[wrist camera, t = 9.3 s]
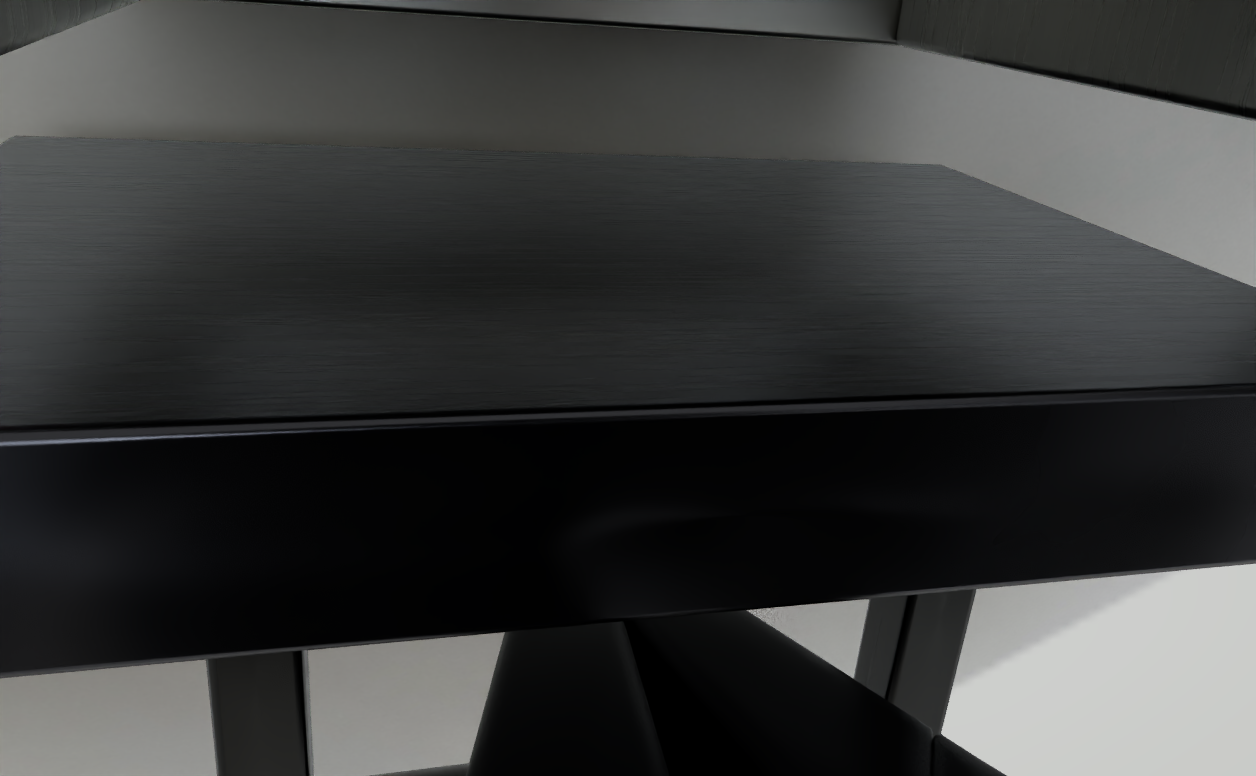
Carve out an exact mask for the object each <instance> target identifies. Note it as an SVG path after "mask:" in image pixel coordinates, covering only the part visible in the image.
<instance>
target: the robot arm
mask: <svg viewBox="0 0 1256 776" xmlns="http://www.w3.org/2000/svg"><path fill="white" fill-rule="evenodd" d="M466 776H1006V775H1005V774H1003V773H1001V772H1000V771H998V770H997V769H995V768H993V767H992V766H990V765H988V764H987V763H985V762H983V761H981V760H980V759H978V758H977V757H976V756H974V755H972V754H971V753H969V752H968V751H966V750H964V749H963V748H961V747H960V746H958V745H957V744H955V743H954V742H952V741H951V740H949V739H947V738H946V737H944V736H943V735H940V734H937V735H935V736H934V737H933V732H932V730H931V728H930V727H928V726H926V725H925V724H923V723H922V722H920V721H919V720H917V719H916V718H914V717H912V716H911V715H909V714H908V713H906V712H905V711H903V710H901V709H900V708H898V707H897V706H895V705H894V704H892V703H890V702H889V701H887V700H886V699H884V698H883V697H881V696H880V695H878V694H876V693H875V692H873V691H872V690H870V689H869V688H867V687H865V686H864V685H862V684H861V683H859V682H858V681H856V680H855V679H853V678H851V677H850V676H848V675H847V674H845V673H844V672H842V671H840V670H839V669H837V668H836V667H834V666H833V665H831V664H829V663H828V662H826V661H825V660H823V659H822V658H820V657H819V656H817V655H815V654H814V653H812V652H811V651H809V650H808V649H806V648H804V647H803V646H801V645H800V644H798V643H797V642H795V641H793V640H792V639H790V638H789V637H787V636H786V635H784V634H783V633H781V632H779V631H778V630H776V629H775V628H773V627H772V626H770V625H768V624H767V623H765V622H764V621H762V620H761V619H759V618H757V617H756V616H754V615H753V614H751V613H750V612H748V611H747V610H741V611H730V612H719V613H708V614H697V615H686V616H675V617H664V618H653V619H642V620H632V621H621V622H610V623H599V624H588V625H577V626H566V627H555V628H544V629H533V630H522V631H511V632H505V634H504V637H503V641H502V645H501V648H500V652H499V656H498V659H497V663H496V667H495V670H494V674H493V678H492V681H491V685H490V689H489V692H488V696H487V700H486V703H485V707H484V711H483V714H482V718H481V722H480V725H479V729H478V733H477V736H476V740H475V744H474V747H473V751H472V755H471V758H470V762H469V766H468V769H467V773H466Z"/></svg>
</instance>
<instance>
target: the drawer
mask: <svg viewBox="0 0 1256 776" xmlns="http://www.w3.org/2000/svg"><path fill="white" fill-rule="evenodd" d="M137 1H140V0H0V56H1V55H3V54H6V53H8V52H11V51H13V50H16V49H18V48H21V47H23V46H26V45H28V44H31V43H34V42H36V41H39V40H41V39H44V38H46V37H49V36H51V35H54V34H56V33H59V32H61V31H64V30H66V29H69V28H72V27H74V26H77V25H79V24H82V23H84V22H87V21H89V20H92V19H94V18H97V17H99V16H102V15H104V14H107V13H110V12H112V11H115V10H117V9H120V8H122V7H125V6H127V5H130V4H132V3H135V2H137ZM204 1H219V2H235V3H250V4H266V5H281V6H296V7H312V8H327V9H343V10H358V11H373V12H389V13H404V14H420V15H435V16H450V17H466V18H481V19H497V20H512V21H527V22H543V23H558V24H574V25H589V26H605V27H620V28H635V29H651V30H666V31H682V32H697V33H712V34H728V35H743V36H759V37H774V38H789V39H805V40H820V41H836V42H851V43H866V44H882V45H897V46H903V47H906V48H911V49H916V50H920V51H925V52H930V53H935V54H939V55H944V56H949V57H953V58H958V59H963V60H968V61H972V62H977V63H982V64H987V65H991V66H996V67H1001V68H1006V69H1010V70H1015V71H1020V72H1024V73H1029V74H1034V75H1039V76H1043V77H1048V78H1053V79H1058V80H1062V81H1067V82H1072V83H1077V84H1081V85H1086V86H1091V87H1095V88H1100V89H1105V90H1110V91H1114V92H1119V93H1124V94H1129V95H1133V96H1138V97H1143V98H1148V99H1152V100H1157V101H1162V102H1166V103H1171V104H1176V105H1181V106H1185V107H1190V108H1195V109H1200V110H1204V111H1209V112H1214V113H1219V114H1223V115H1228V116H1233V117H1237V118H1242V119H1247V120H1252V121H1256V0H204ZM1254 563H1256V288H1255V287H1253V286H1250V285H1247V284H1245V283H1242V282H1240V281H1237V280H1235V279H1232V278H1230V277H1227V276H1224V275H1222V274H1219V273H1217V272H1214V271H1212V270H1209V269H1207V268H1204V267H1201V266H1199V265H1196V264H1194V263H1191V262H1189V261H1186V260H1184V259H1181V258H1178V257H1176V256H1173V255H1171V254H1168V253H1166V252H1163V251H1160V250H1158V249H1155V248H1153V247H1150V246H1148V245H1145V244H1143V243H1140V242H1137V241H1135V240H1132V239H1130V238H1127V237H1125V236H1122V235H1120V234H1117V233H1114V232H1112V231H1109V230H1107V229H1104V228H1102V227H1099V226H1097V225H1094V224H1091V223H1089V222H1086V221H1084V220H1081V219H1079V218H1076V217H1074V216H1071V215H1068V214H1066V213H1063V212H1061V211H1058V210H1056V209H1053V208H1050V207H1048V206H1045V205H1043V204H1040V203H1038V202H1035V201H1033V200H1030V199H1027V198H1025V197H1022V196H1020V195H1017V194H1015V193H1012V192H1010V191H1007V190H1004V189H1002V188H999V187H997V186H994V185H992V184H989V183H987V182H984V181H981V180H979V179H976V178H974V177H971V176H969V175H966V174H963V173H961V172H958V171H956V170H953V169H951V168H948V167H946V166H943V165H932V164H900V163H868V162H836V161H804V160H772V159H741V158H709V157H677V156H645V155H613V154H581V153H550V152H518V151H486V150H454V149H422V148H390V147H359V146H327V145H295V144H263V143H231V142H200V141H168V140H136V139H104V138H72V137H40V136H14V137H11V138H9V139H8V140H6V141H5V142H3V143H2V144H0V678H8V677H19V676H30V675H41V674H52V673H63V672H74V671H85V670H96V669H107V668H118V667H129V666H139V665H150V664H161V663H172V662H183V661H194V660H205V659H206V665H207V675H208V686H209V696H210V707H211V717H212V727H213V738H214V748H215V759H216V769H217V776H314V767H313V747H312V727H311V707H310V687H309V666H308V650H314V649H325V648H336V647H347V646H358V645H369V644H380V643H391V642H402V641H413V640H424V639H435V638H446V637H457V636H467V635H478V634H489V633H500V632H511V631H522V630H533V629H544V628H555V627H566V626H577V625H588V624H599V623H610V622H621V621H632V620H642V619H653V618H664V617H675V616H686V615H697V614H708V613H719V612H730V611H741V610H752V609H763V608H774V607H785V606H796V605H806V604H817V603H828V602H839V601H850V600H861V599H869V604H868V609H867V614H866V619H865V624H864V629H863V634H862V639H861V644H860V649H859V654H858V659H857V664H856V669H855V674H854V679H855V680H856V681H858V682H859V683H861V684H862V685H864V686H865V687H867V688H869V689H870V690H872V691H873V692H875V693H876V694H878V695H880V696H881V697H883V698H884V699H886V700H887V701H889V702H890V703H892V704H894V705H895V706H897V707H898V708H900V709H901V710H903V711H905V712H906V713H908V714H909V715H911V716H912V717H914V718H916V719H917V720H919V721H920V722H922V723H923V724H925V725H926V726H928V727H930V728H931V730H932V732H933V737H934V736H935V735H937V734H940V735H942V734H941V731H942V726H943V722H944V718H945V714H946V710H947V706H948V702H949V698H950V694H951V690H952V686H953V682H954V678H955V674H956V670H957V666H958V662H959V657H960V653H961V649H962V645H963V641H964V637H965V633H966V629H967V625H968V621H969V617H970V613H971V609H972V605H973V601H974V597H975V593H976V589H981V588H992V587H1003V586H1014V585H1025V584H1036V583H1047V582H1058V581H1069V580H1080V579H1091V578H1102V577H1113V576H1124V575H1135V574H1145V573H1156V572H1167V571H1178V570H1189V569H1200V568H1210V567H1222V566H1232V565H1244V564H1254ZM468 766H469V763H468V764H460V765H451V766H443V767H435V768H427V769H419V770H411V771H403V772H395V773H387V774H379V775H371V776H466V773H467V769H468Z"/></svg>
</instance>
